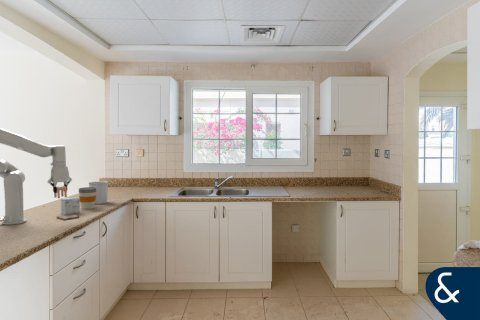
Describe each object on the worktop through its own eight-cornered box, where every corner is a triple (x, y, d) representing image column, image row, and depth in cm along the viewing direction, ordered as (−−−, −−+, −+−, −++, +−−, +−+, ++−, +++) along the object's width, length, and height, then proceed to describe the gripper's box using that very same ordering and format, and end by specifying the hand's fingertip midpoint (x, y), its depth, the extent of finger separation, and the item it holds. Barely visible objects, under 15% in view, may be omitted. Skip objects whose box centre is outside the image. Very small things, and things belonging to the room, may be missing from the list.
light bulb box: (75, 211, 243) (75, 196, 242) (80, 212, 238) (80, 197, 238) (60, 213, 234) (60, 198, 234) (64, 214, 230) (64, 199, 230)
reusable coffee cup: (91, 209, 250) (91, 189, 249) (75, 209, 250) (75, 189, 249) (99, 206, 262) (99, 187, 262) (83, 205, 263) (83, 187, 262)
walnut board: (64, 220, 214) (64, 218, 214) (56, 218, 220) (56, 216, 220) (79, 217, 222) (79, 216, 222) (71, 215, 228) (71, 214, 228)
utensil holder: (92, 201, 284) (92, 180, 283) (110, 201, 286) (110, 180, 285) (86, 204, 269) (86, 182, 269) (105, 204, 271) (105, 183, 270)
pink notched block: (58, 198, 212) (57, 187, 212) (54, 197, 215) (53, 186, 215) (67, 197, 217) (66, 186, 216) (62, 196, 220) (62, 185, 219)
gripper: (47, 165, 206) (49, 194, 207) (75, 163, 219) (76, 191, 220) (42, 165, 210) (43, 193, 211) (69, 163, 224) (70, 190, 225)
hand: (60, 191), depth 216 cm, fingers closed on pink notched block, 5 cm apart
